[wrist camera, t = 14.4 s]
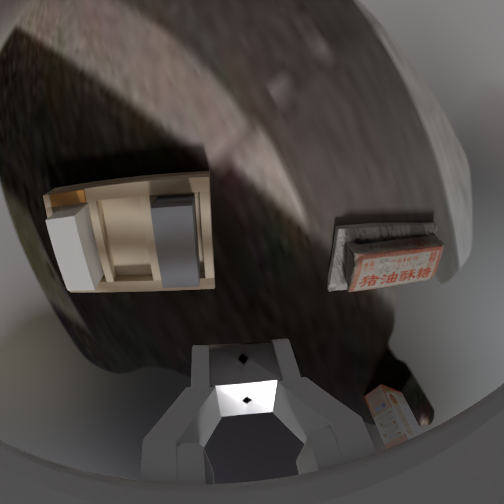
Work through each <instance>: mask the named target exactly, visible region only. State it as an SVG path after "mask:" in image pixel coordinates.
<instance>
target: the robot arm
mask: <svg viewBox="0 0 504 504" xmlns="http://www.w3.org/2000/svg"><path fill="white" fill-rule="evenodd" d="M265 412H273V413H274V414H275V415H276V416H277V417H278V418H279V419H280V420H281V421H282V422H283V423H284V424H285V425H286V426H287V427H288V428H289V429H290V430H291V431H292V432H293V433H294V434H295V435H296V436H297V437H298V438H299V439H300V440H301V441H302V442H303V443H304V444H305V445H304V447H303V449H302V451H301V453H300V455H299V457H298V459H297V461H296V464H297V468H298V472H299V475H295V476H289V477H283V478H277V479H270V480H262V481H254V482H243V483H229V484H214V475H213V470H212V467H211V465H210V462H209V460H208V457H207V455H206V452H205V450H204V446H205V444H206V443H207V441H208V439H209V438H210V436H211V434H212V432H213V431H214V429H215V427H216V426H217V424H218V422H219V421H220V419H221V416H232V415H242V414H251V413H252V414H253V413H265ZM0 504H504V383H503V384H502V385H501V386H500V387H498V388H497V389H496V390H494V391H493V392H491V393H490V394H489V395H487V396H486V397H484V398H483V399H481V400H480V401H479V402H477V403H475V404H474V405H473V406H471V407H469V408H468V409H466V410H464V411H463V412H461V413H459V414H458V415H456V416H454V417H453V418H451V419H449V420H447V421H446V422H444V423H442V424H440V425H438V426H436V427H434V428H432V429H430V430H428V431H426V432H424V433H422V434H420V435H418V436H416V437H414V438H412V439H410V440H407V441H405V442H403V443H400V444H398V445H396V446H393V447H391V448H388V449H386V450H383V451H381V452H378V453H376V451H375V449H374V446H373V444H372V441H371V439H370V436H369V434H368V431H367V429H366V427H365V425H364V422H363V420H362V417H360V416H359V415H358V414H356V413H355V412H353V411H352V410H350V409H349V408H347V407H346V406H345V405H343V404H342V403H340V402H339V401H338V400H336V399H335V398H333V397H332V396H331V395H329V394H328V393H326V392H325V391H324V390H322V389H321V388H320V387H318V386H317V385H316V384H314V383H313V382H312V381H310V380H309V379H308V378H306V377H302V378H301V376H300V373H299V370H298V367H297V364H296V361H295V357H294V354H293V351H292V348H291V345H290V342H289V340H288V339H280V340H272V341H271V340H270V341H261V342H251V343H240V344H224V345H193V349H192V373H191V387H188V388H186V389H185V390H184V391H183V392H182V394H181V395H180V396H179V397H178V399H177V400H176V401H175V402H174V403H173V405H172V406H171V407H170V408H169V409H168V411H167V412H166V413H165V414H164V416H163V417H162V418H161V419H160V420H159V421H158V423H157V424H156V425H155V426H154V428H153V429H152V430H151V431H150V432H149V433H148V435H147V436H146V437H145V438H144V440H143V449H142V462H141V479H140V481H138V480H131V479H124V478H118V477H113V476H107V475H102V474H98V473H93V472H88V471H84V470H81V469H77V468H73V467H70V466H66V465H63V464H60V463H56V462H53V461H50V460H47V459H44V458H42V457H39V456H36V455H33V454H31V453H28V452H26V451H23V450H21V449H19V448H16V447H14V446H12V445H10V444H7V443H5V442H3V441H1V440H0Z"/></svg>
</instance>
